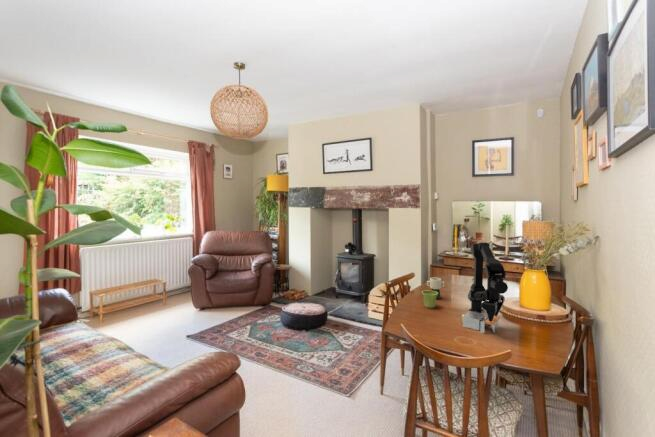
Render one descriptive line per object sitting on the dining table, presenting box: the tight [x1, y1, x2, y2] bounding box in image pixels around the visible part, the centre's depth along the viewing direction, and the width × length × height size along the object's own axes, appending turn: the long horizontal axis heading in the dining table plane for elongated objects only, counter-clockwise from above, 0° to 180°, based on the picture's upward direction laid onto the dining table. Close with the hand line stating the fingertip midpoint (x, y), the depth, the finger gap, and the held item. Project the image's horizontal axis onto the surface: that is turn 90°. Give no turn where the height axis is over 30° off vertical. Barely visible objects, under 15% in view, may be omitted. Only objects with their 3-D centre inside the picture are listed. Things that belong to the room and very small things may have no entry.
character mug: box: [426, 276, 445, 300], centre depth 215 cm, size 11×7×13 cm, turn 74°
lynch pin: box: [460, 313, 491, 328], centre depth 168 cm, size 4×13×4 cm, turn 49°
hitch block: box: [462, 311, 499, 334], centre depth 167 cm, size 14×14×6 cm
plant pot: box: [421, 289, 438, 309], centre depth 199 cm, size 9×9×9 cm
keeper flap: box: [483, 315, 501, 326], centre depth 164 cm, size 12×5×1 cm, turn 139°
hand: (493, 318), depth 163 cm, fingers open, 9 cm apart
